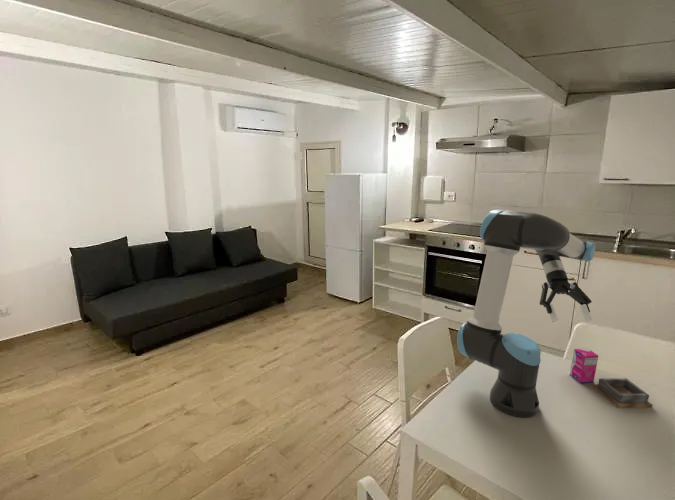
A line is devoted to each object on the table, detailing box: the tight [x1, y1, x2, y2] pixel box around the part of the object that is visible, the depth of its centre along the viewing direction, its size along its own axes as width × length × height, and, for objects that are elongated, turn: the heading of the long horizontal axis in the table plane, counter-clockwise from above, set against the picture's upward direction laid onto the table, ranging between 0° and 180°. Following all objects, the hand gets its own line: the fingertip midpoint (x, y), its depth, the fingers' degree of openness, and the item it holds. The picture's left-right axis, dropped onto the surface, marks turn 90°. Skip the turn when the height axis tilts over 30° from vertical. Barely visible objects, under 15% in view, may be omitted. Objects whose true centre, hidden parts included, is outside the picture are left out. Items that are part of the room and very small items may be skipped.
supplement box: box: [569, 347, 599, 384], centre depth 142 cm, size 6×6×12 cm
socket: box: [592, 377, 653, 409], centre depth 132 cm, size 12×12×4 cm
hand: (571, 321), depth 149 cm, fingers open, 13 cm apart
